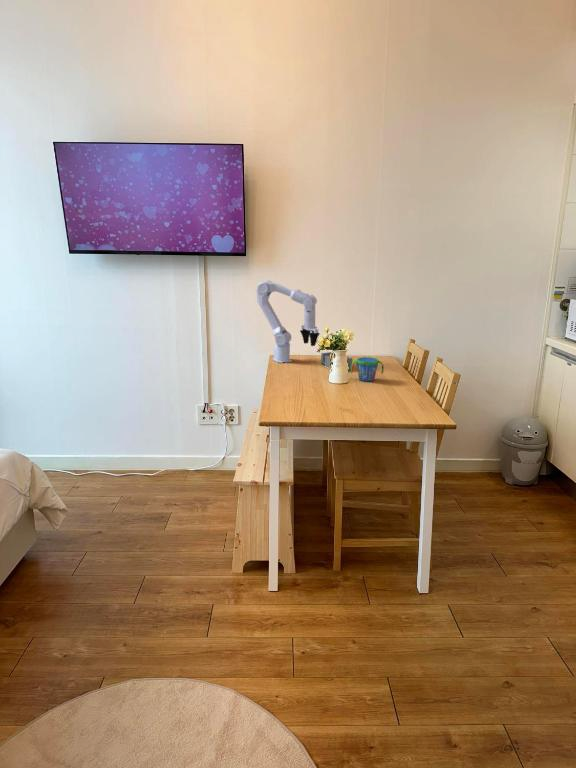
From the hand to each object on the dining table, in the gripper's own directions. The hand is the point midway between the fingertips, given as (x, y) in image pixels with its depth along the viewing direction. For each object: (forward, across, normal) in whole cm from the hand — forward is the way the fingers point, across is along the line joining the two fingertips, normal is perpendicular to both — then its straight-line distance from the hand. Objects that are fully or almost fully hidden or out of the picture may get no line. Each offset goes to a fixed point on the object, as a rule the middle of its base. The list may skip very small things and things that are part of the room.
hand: (309, 344), depth 298 cm
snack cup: (+12, -39, -9) cm, 42 cm away
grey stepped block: (+11, -11, -9) cm, 18 cm away
